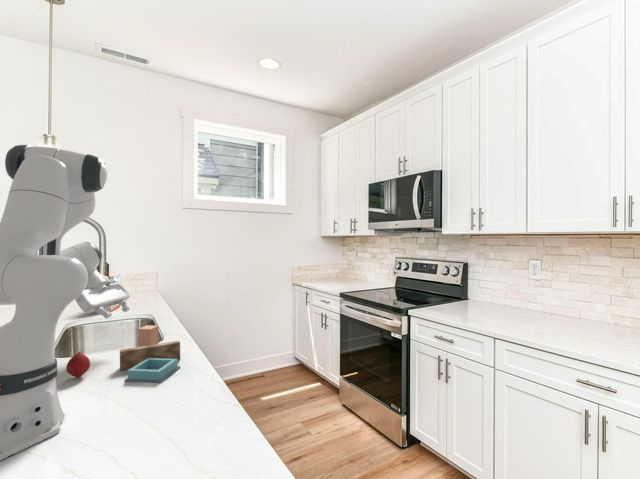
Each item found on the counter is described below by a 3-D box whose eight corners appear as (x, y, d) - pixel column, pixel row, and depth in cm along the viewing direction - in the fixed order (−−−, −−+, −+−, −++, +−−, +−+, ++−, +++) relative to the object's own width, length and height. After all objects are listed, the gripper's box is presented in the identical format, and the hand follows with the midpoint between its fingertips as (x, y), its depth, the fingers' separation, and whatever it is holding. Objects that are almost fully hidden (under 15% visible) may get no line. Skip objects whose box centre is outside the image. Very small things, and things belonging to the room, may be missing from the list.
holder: (160, 383, 98) (160, 372, 98) (124, 381, 99) (124, 371, 99) (180, 367, 109) (180, 358, 109) (147, 366, 110) (147, 357, 110)
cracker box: (109, 307, 199) (109, 272, 199) (120, 306, 200) (120, 272, 200) (98, 312, 185) (98, 275, 185) (110, 312, 187) (110, 274, 186)
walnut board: (179, 357, 118) (179, 340, 118) (180, 359, 116) (180, 342, 116) (119, 368, 109) (119, 349, 109) (119, 370, 107) (119, 352, 107)
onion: (77, 382, 98) (77, 355, 98) (61, 381, 100) (61, 354, 99) (94, 374, 104) (94, 348, 104) (79, 373, 105) (78, 347, 105)
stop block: (150, 357, 119) (150, 329, 118) (138, 356, 119) (138, 328, 119) (158, 352, 123) (158, 325, 123) (146, 352, 124) (146, 325, 123)
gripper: (75, 284, 112) (103, 314, 111) (118, 277, 133) (141, 302, 132) (63, 297, 113) (90, 327, 112) (108, 288, 133) (131, 313, 132)
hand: (118, 313), depth 122 cm, fingers open, 8 cm apart
